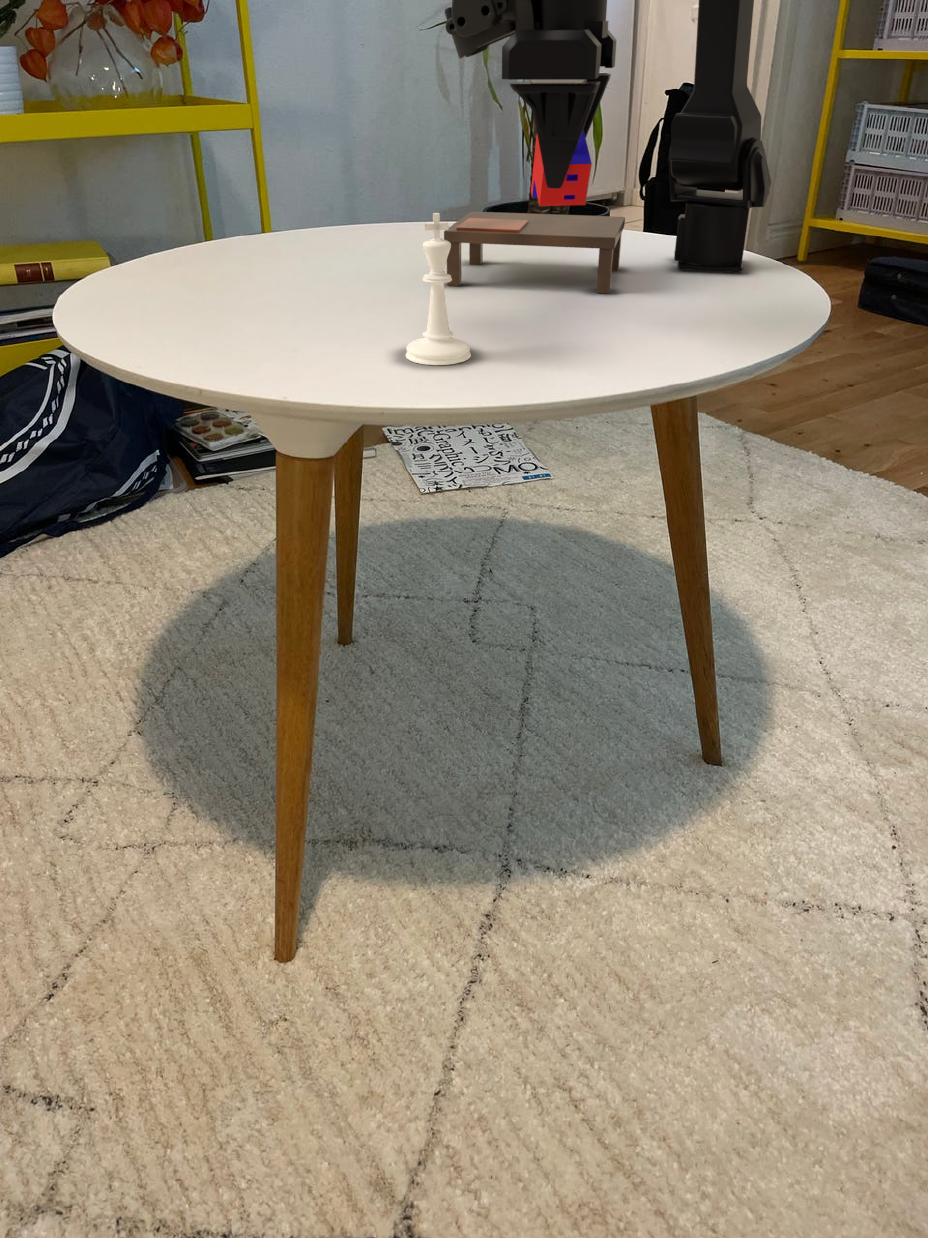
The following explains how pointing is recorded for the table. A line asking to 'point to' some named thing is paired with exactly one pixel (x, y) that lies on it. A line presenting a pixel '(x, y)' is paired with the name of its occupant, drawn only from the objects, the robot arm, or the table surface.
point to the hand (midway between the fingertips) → (559, 181)
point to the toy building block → (573, 183)
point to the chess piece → (437, 308)
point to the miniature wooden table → (536, 238)
